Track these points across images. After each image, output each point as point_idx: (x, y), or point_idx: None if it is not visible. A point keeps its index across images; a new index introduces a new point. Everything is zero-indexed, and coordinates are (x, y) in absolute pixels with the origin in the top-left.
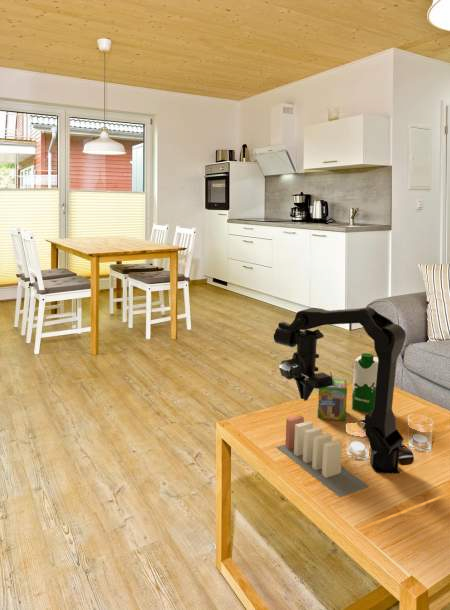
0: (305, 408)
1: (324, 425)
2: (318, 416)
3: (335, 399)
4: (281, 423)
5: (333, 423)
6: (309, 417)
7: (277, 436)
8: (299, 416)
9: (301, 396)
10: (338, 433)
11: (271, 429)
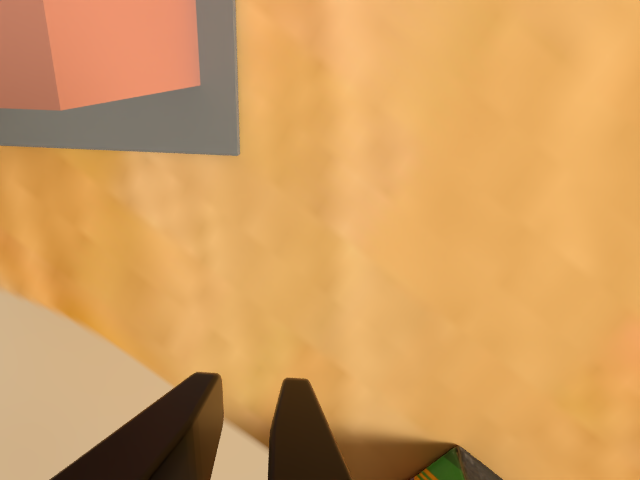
0: (631, 476)
1: (360, 417)
2: (460, 458)
3: None
4: (571, 191)
5: (352, 472)
6: (509, 415)
7: (408, 8)
8: (28, 67)
9: (276, 407)
10: (229, 413)
11: (543, 43)
